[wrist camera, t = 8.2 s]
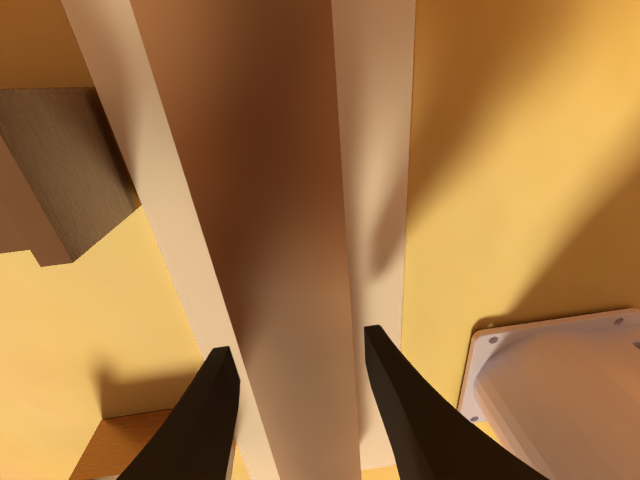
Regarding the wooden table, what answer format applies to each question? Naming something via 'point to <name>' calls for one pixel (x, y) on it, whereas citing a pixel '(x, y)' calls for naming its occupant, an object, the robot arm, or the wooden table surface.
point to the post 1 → (59, 173)
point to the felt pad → (357, 172)
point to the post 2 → (122, 446)
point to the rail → (269, 205)
